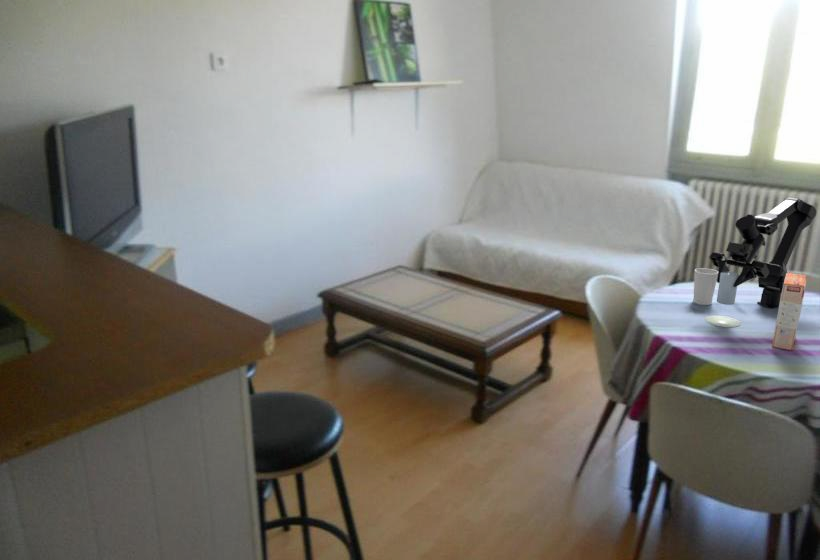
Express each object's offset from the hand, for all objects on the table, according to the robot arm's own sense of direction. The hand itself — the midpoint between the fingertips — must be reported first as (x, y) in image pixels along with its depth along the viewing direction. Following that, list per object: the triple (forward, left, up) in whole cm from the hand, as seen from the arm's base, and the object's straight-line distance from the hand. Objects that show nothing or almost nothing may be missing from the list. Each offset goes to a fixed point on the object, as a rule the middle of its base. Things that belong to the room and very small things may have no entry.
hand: (725, 284), depth 219 cm
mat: (-1, 0, -13) cm, 14 cm away
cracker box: (-5, +21, -14) cm, 26 cm away
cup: (-10, -19, -14) cm, 26 cm away
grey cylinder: (-1, 0, -7) cm, 7 cm away
